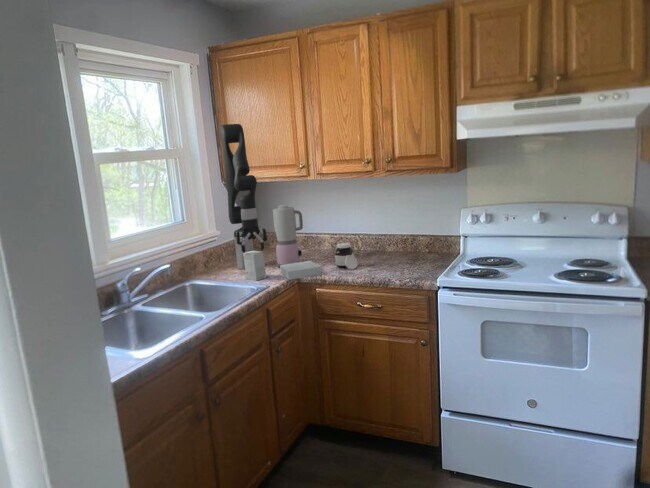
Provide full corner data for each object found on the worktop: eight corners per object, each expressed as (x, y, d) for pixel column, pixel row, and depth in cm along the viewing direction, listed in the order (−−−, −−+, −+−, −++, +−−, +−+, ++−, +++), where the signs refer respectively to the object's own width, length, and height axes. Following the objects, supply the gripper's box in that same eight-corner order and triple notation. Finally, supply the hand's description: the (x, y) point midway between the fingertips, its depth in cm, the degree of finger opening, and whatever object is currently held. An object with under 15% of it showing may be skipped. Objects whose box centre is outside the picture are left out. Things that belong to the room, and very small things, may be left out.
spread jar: (342, 264, 252) (341, 242, 250) (362, 265, 246) (361, 242, 244) (332, 270, 241) (330, 246, 239) (352, 270, 236) (351, 247, 234)
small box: (266, 277, 236) (263, 251, 234) (256, 281, 232) (253, 254, 230) (255, 276, 242) (253, 250, 240) (245, 279, 237) (242, 252, 235)
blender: (274, 269, 254) (267, 207, 248) (281, 263, 265) (275, 204, 259) (303, 268, 250) (297, 206, 244) (309, 262, 261) (304, 203, 256)
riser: (280, 273, 244) (279, 265, 243) (311, 268, 248) (310, 260, 248) (288, 280, 229) (287, 271, 228) (321, 274, 233) (320, 266, 233)
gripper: (262, 215, 237) (266, 248, 240) (233, 219, 233) (237, 252, 236) (265, 216, 230) (269, 250, 233) (235, 220, 226) (239, 254, 229)
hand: (253, 251), depth 234 cm, fingers open, 8 cm apart
